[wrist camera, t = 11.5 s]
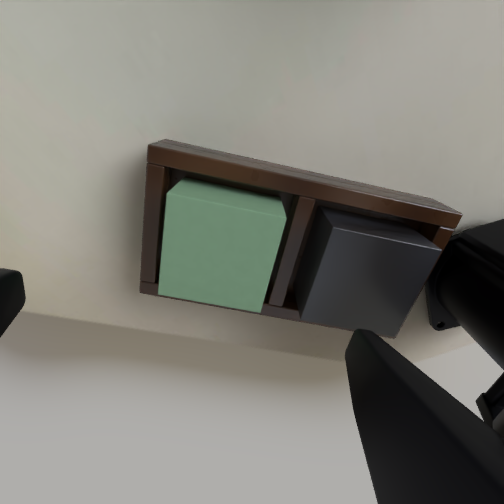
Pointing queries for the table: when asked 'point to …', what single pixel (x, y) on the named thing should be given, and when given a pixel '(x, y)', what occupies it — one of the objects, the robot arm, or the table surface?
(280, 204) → the green block
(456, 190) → the table surface
